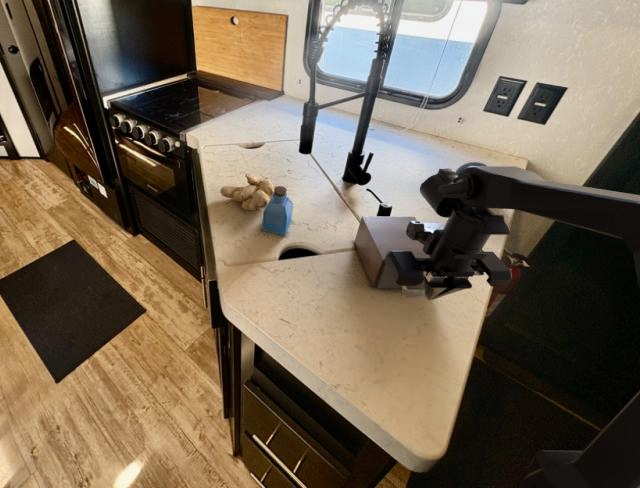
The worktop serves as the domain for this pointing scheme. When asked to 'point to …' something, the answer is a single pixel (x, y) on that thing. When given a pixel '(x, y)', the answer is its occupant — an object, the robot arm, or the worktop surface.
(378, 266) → the drawer cabinet
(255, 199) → the ginger root
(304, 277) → the worktop surface
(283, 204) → the perfume bottle
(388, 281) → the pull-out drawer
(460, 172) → the decorative ball
